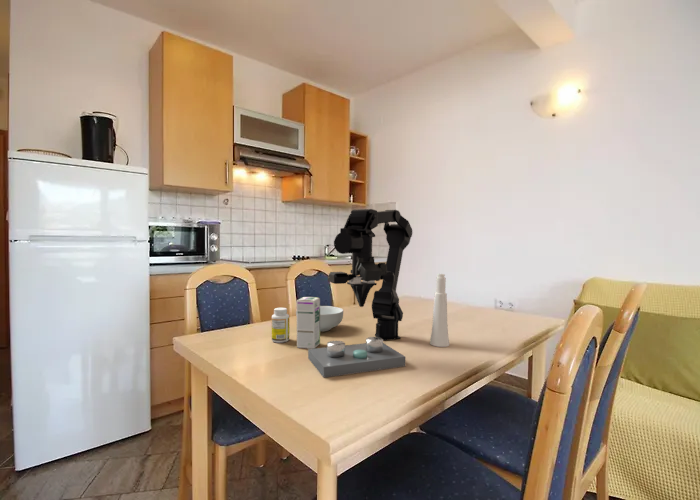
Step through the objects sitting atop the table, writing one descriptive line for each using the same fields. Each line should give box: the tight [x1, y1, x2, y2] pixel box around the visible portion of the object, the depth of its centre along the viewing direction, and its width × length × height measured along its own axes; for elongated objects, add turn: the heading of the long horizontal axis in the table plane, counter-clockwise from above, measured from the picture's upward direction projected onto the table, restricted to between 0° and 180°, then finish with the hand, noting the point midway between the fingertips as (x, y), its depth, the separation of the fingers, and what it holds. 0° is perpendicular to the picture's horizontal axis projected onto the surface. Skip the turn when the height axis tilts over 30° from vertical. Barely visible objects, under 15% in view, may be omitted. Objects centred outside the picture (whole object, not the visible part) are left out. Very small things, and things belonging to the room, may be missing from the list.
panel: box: [307, 342, 406, 378], centre depth 93 cm, size 22×14×2 cm, turn 112°
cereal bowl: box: [295, 305, 344, 333], centre depth 127 cm, size 17×17×7 cm
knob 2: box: [365, 336, 384, 353], centre depth 95 cm, size 5×5×6 cm
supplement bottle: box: [271, 307, 290, 344], centre depth 111 cm, size 6×6×10 cm
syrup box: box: [296, 296, 321, 350], centre depth 106 cm, size 6×6×14 cm
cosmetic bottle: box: [429, 273, 451, 348], centre depth 110 cm, size 6×6×22 cm
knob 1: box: [326, 340, 346, 358], centre depth 91 cm, size 5×5×6 cm
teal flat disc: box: [353, 350, 367, 359], centre depth 90 cm, size 4×4×1 cm
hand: (361, 306), depth 102 cm, fingers closed
